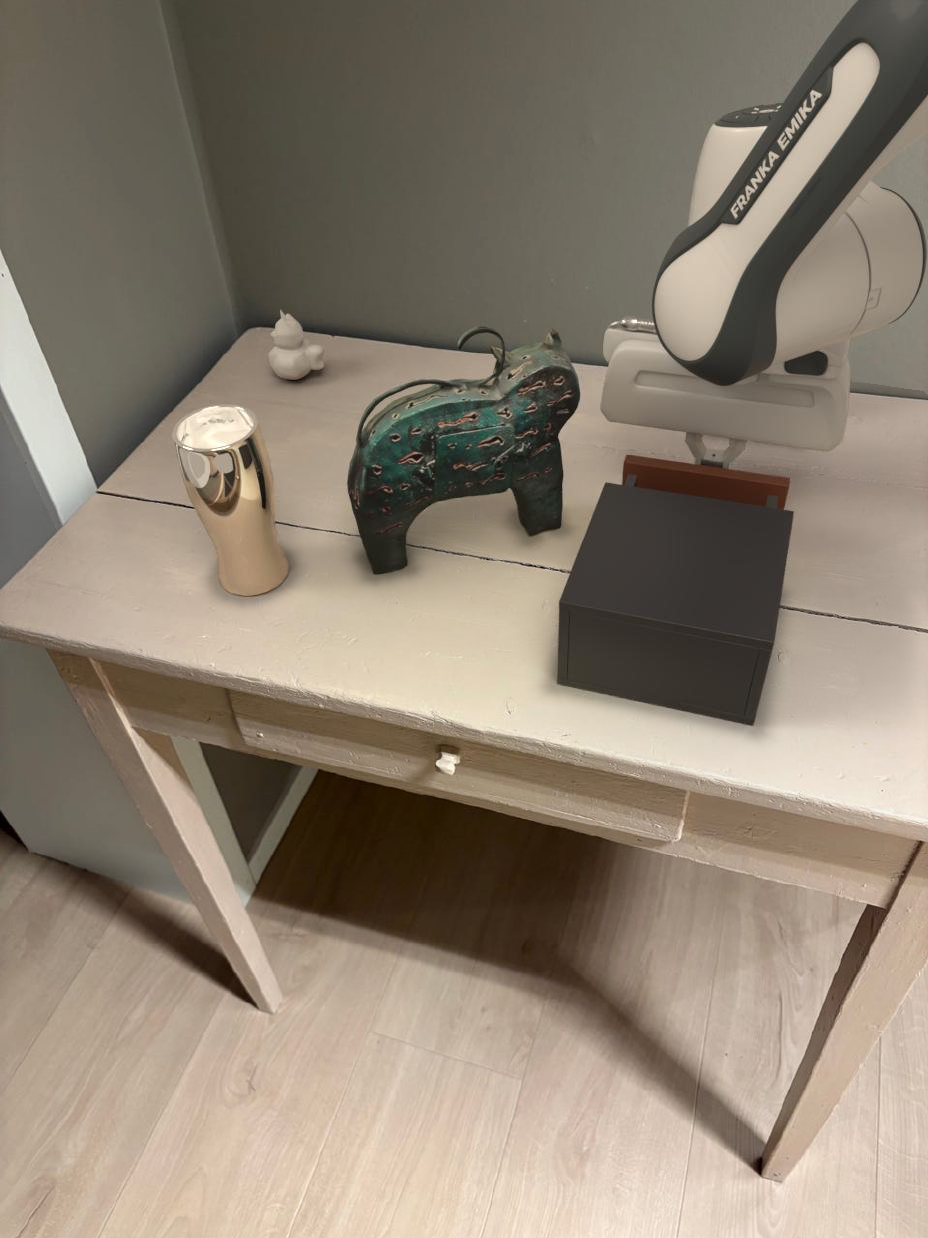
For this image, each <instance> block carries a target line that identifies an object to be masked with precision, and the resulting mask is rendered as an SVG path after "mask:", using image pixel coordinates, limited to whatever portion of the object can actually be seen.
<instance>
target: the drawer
mask: <svg viewBox="0 0 928 1238" xmlns="http://www.w3.org/2000/svg"><path fill="white" fill-rule="evenodd" d="M622 467H623V468H622V478H621V485H627V486H633V487H640V488H646V489H653V490H659V491H666V492H672V493H679V494H685V495H692V496H698V497H705V498H711V499H718V500H725V501H731V502H738V503H744V504H751V505H757V506H764V507H770V508H777V509H783V510H785V507H786V503H787V498H788V494H789V489H790V484H791V477H786V476H779V475H773V474H765V473H758V472H752V471H745V470H737V469H731V468H729V469H725V468H718V467H711V466H704V465H697V464H695V463H689V462H684V461H676V460H668V459H662V458H655V457H649V456H643V455H634V454H626V455H625V457H624V460H623V465H622Z"/></svg>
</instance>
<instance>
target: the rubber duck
mask: <svg viewBox="0 0 928 1238" xmlns="http://www.w3.org/2000/svg"><path fill="white" fill-rule="evenodd" d="M279 313H280V319H278V321H276V323H275V326H274V330H272V331H271V332H270V337H271V338H272V339H273V343H274V344H275V345H274V346H273V347H272V349H271V350H270V352H269V353H268V354H267V355H268V356H267V357H268V362H269V365H270V367H271V368H272V370H273V372H274V373H275V374H276V375H277V376H278V377H279V378H281V379H284V380H291V381H293V380H295V381H296V380H301V379H302V378H305V376H307V375H308V374H309V373H310V372H311V371H312V370H313V371H318V370H322V369H323V368H324V367H325V362H324V358H323V357H324V354H325V349H324V346H322V345H320V344H312V343H311V341H310V340H309V339H305V332H304V330H303V327H302V325H301V323H300V322H299V321H298V320H297V319H295V317H293V316H292V314H290V313H286V314H285V313H284V311H283V310H282V309H281V308H279Z"/></svg>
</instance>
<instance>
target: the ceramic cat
mask: <svg viewBox="0 0 928 1238" xmlns="http://www.w3.org/2000/svg"><path fill="white" fill-rule="evenodd" d="M487 333H488V334H492V335H494V336H495V337H497V338H498V339H499V341H500V343H501V347H496V346H490V352H491V354H492V355H493V357H494V359H496V361H495V363H494V367H493V370H492V374H491V375H489V376H488V377H486V378H481V379H469V378H454V379H449V380H444V379H443V380H441V379H425V378H423V379H422V378H421V379H416V380H413V381H410V382H407V383H403V384H400V385H398V386H396V387H393V388H391V389H389V390H387V391H385V392H383V393H381V394H380V395H378V396H376V397H375V398H373V400H372V401H371V402H370V403H369V404H368V405H367V406H366V408H365V410H364V411H363V414H362V416H361V418H360V421H359V424H358V428H357V433H356V437H355V447H354V451H353V454H352V457H351V458H350V461H349V466H348V472H347V482H346V485H347V494H348V498H349V501H350V505H351V511H352V513H353V515H354V519H355V523H356V526H357V532H358V534H359V536H360V540H361V543H362V546H363V549H364V551H365V554H366V558H367V560H368V563H369V564H370V568H371V570H372V574H374V575H380V574H386V573H391V572H396V571H400V570H402V569H404V568H406V567H407V566H408V565H409V564H408V563H409V561H408V555H407V535H408V532H409V530H410V527H411V526H412V524H414V521H415V520H416V518H418V516H419V515H420V514H421V513H422V512H424V511H425V510H426V509H427V508H429V507H431V506H432V505H434V504H435V503H439V502H446V501H449V500H453V499H461V498H467V497H480V496H481V497H482V496H488V495H497V494H503V493H506V492H508V490H509V489H510V490H511V493H512V495H513V498H514V501H515V503H516V508H517V515H518V520H519V523H520V525H521V526H522V527H523V528H524V530H525V531H526V533H527V535H528V537H529V538H530V537H533V536H535V535H538V534H540V533H543V532H547V531H552V530H558V529H561V527H562V523H563V521H562V520H563V508H564V506H563V504H564V503H563V502H564V499H563V496H564V495H563V494H564V493H563V491H564V490H563V484H564V476H565V475H564V474H565V473H564V465H563V457H562V447H561V442H560V438H559V435H560V432H561V430H563V428H564V427H565V425H566V424H567V422H568V421H569V420H570V419H571V418H572V417H573V415H574V414H575V413H576V411H577V409H578V407H579V404H580V401H581V388H580V380H579V376H578V373H577V371H576V369H575V367H574V366H573V363H572V361H571V359H570V358H569V356H568V355H567V353H566V352H565V349H564V347H563V343H562V339H561V337H560V333H559V332H558V331H557V330H555V329H554V328H551V329H549V331H548V333H547V335H546V337H545V339H544V340H543V341H542V342H533V343H530V344H525V345H522V346H519V347H517V348H513V349H512V350H511V351H507V350H506V346H505V341H504V338H503V337H502V334H501V333H500V332H499V331H498V330H496V329H494V328H492V327H489V326H484V325H478V326H475V327H472V328H470V329H468V330H466V331H465V332H464V333H463V334H462V335H461V337H459V340H458V342H457V345H456V348H457V349H458V350H459V351H462V350H461V349H462V348H463V346H464V345H465V343H466V342H467V341H469V339H471V338H472V337H474V336H475V335H479V334H487ZM423 385H431V386H428V387H426V388H424V389H422V390H419V391H417V392H414V393H411V394H408V395H404V396H401V397H399V398H396V399H394V400H393V401H391V402H389V403H388V404H387V405H386V406H385V407H384V408H383V409H382V410H380V411H378V412H377V413H376V414H375V415H373V416H372V418H371V419H370V420H369V421H368V422H367V424H366V425H365V423H366V421H367V420H368V418H369V416H370V415H371V414H372V412H373V411H374V410H375V408H376V407H377V406H378V405H379V404H380V403H381V402H383V401H384V400H386V399H388V398H389V397H392V396H394V395H396V394H398V393H400V392H403V391H405V390H407V389H410V388H413V387H418V386H423ZM364 426H365V427H364Z"/></svg>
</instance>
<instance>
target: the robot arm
mask: <svg viewBox="0 0 928 1238" xmlns="http://www.w3.org/2000/svg"><path fill="white" fill-rule="evenodd" d="M926 135H928V0H856V2H855V3H854V4H853V5H852V6H851V7H850V8H849V9H848V11H847V12H846V13H845V15H844V16H843V17H842V18H841V19H840V21H839V22H838V23H837V25H835V27H834V28H833V30H832V31H831V33H830V34H829V35H828V36H827V38H826V39H825V40H824V42H823V44H822V45H821V46H820V48H819V49H818V50H817V52H816V54H815V55H814V56H813V58H812V59H811V61H810V62H809V64H808V65H807V67H806V68H805V70H804V71H803V72H802V74H801V75H800V77H799V78H798V80H797V81H796V82H795V84H794V85H793V87H792V88H791V90H790V92H789V93H788V94H787V96H786V98H785V99H784V101H783V102H777V103H776V102H775V103H773V104H765V105H764V104H760V105H755V106H751V107H746V108H742V109H738V110H735V111H731V112H729V113H726V114H724V115H723V116H721V117H720V118H718V119H717V120H716V121H715V122H713V124H711V126H710V128H709V130H708V132H707V134H706V136H705V139H704V142H703V144H702V148H701V150H700V154H699V158H698V162H697V166H696V171H695V175H694V180H693V187H692V192H691V199H690V206H689V215H688V221H687V227H686V228H684V229H683V230H682V231H681V232H680V233H679V234H677V236H676V237H675V238H674V240H673V241H672V243H671V245H670V247H669V248H668V250H667V252H666V253H665V256H664V258H663V259H662V262H661V264H660V266H659V269H658V272H657V275H656V278H655V282H654V286H653V291H652V298H651V314H652V318H642V317H639V316H635V315H626V316H623V317H622V318H621V319H618V320H615V321H612V322H611V323H610V324H609V325H608V326H606V327H605V330H604V332H603V335H602V355H603V358H604V360H605V361H606V362H607V368H606V372H605V375H604V381H603V386H602V391H601V396H600V397H601V398H600V409H599V410H600V412H601V413H602V415H603V416H604V418H605V419H606V420H607V421H608V422H610V423H616V424H623V425H630V426H639V427H644V428H645V427H646V428H653V429H659V430H668V431H674V432H681V433H685V438H684V442H685V444H686V445H687V447H688V449H689V451H690V453H691V454H692V457H693V458H694V464H697V465H704V466H711V467H718V468H725V469H730V466H731V464H732V463H733V461H734V460H736V458H738V457H739V456H740V455H741V454H742V453H743V452H744V451H745V449H746V445H747V441H749V442H754V443H760V444H761V443H762V444H769V445H775V446H784V447H789V448H790V447H791V448H796V449H797V448H798V449H804V450H813V451H818V452H827V453H828V452H829V453H830V452H832V451H834V450H835V449H837V448H838V447H839V446H841V445H842V444H843V442H844V439H845V433H846V428H847V422H848V414H849V406H850V395H851V382H852V381H851V379H852V378H851V377H852V376H851V375H852V371H851V364H850V360H849V358H848V354H849V348H850V340H852V339H854V338H857V337H859V336H862V335H866V334H868V333H871V332H873V331H876V330H878V329H880V328H882V327H885V326H887V325H889V324H893V323H894V322H896V321H898V320H899V319H901V318H902V317H903V316H904V315H905V314H906V313H907V312H908V311H909V309H910V308H911V306H912V305H913V304H914V301H915V300H916V298H917V296H918V294H919V292H920V290H921V287H922V285H923V282H924V277H925V273H926V268H927V258H928V249H927V239H926V234H925V230H924V226H923V224H922V222H921V219H920V217H919V215H918V214H917V212H916V210H915V209H914V207H913V206H912V205H911V204H910V203H909V202H908V201H907V200H906V198H904V197H903V196H901V195H900V194H899V193H897V192H896V191H894V190H892V189H890V188H887V187H882V186H879V185H878V184H877V183H875V182H874V181H872V180H873V179H874V178H875V177H876V176H877V174H878V173H879V172H880V171H881V170H882V169H883V168H884V167H886V165H887V164H889V162H891V161H892V160H893V159H894V158H895V157H897V156H898V155H899V154H900V153H902V152H903V151H904V150H906V149H907V148H909V147H910V146H911V145H913V144H914V143H916V142H917V141H919V140H920V139H921V138H923V137H924V136H926ZM704 436H710V437H716V438H717V437H718V438H726V439H729V440H728V446H727V447H726V448H725V449H724V450H722V449H721V450H720V449H713V448H707V447H706V444H705V442H704V439H703V438H704Z"/></svg>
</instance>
